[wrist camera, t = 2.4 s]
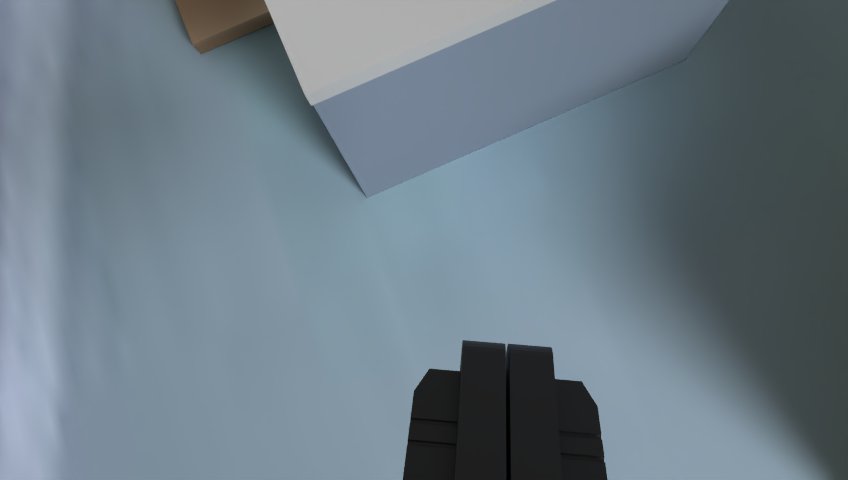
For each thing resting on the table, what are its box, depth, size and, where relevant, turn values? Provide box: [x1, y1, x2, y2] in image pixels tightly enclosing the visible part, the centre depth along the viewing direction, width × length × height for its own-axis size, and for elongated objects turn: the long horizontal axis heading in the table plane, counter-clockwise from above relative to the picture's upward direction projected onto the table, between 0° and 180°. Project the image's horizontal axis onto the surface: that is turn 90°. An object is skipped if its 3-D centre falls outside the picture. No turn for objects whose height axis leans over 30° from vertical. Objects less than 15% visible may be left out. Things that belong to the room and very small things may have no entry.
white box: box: [265, 0, 729, 198], centre depth 25 cm, size 5×14×12 cm, turn 114°
